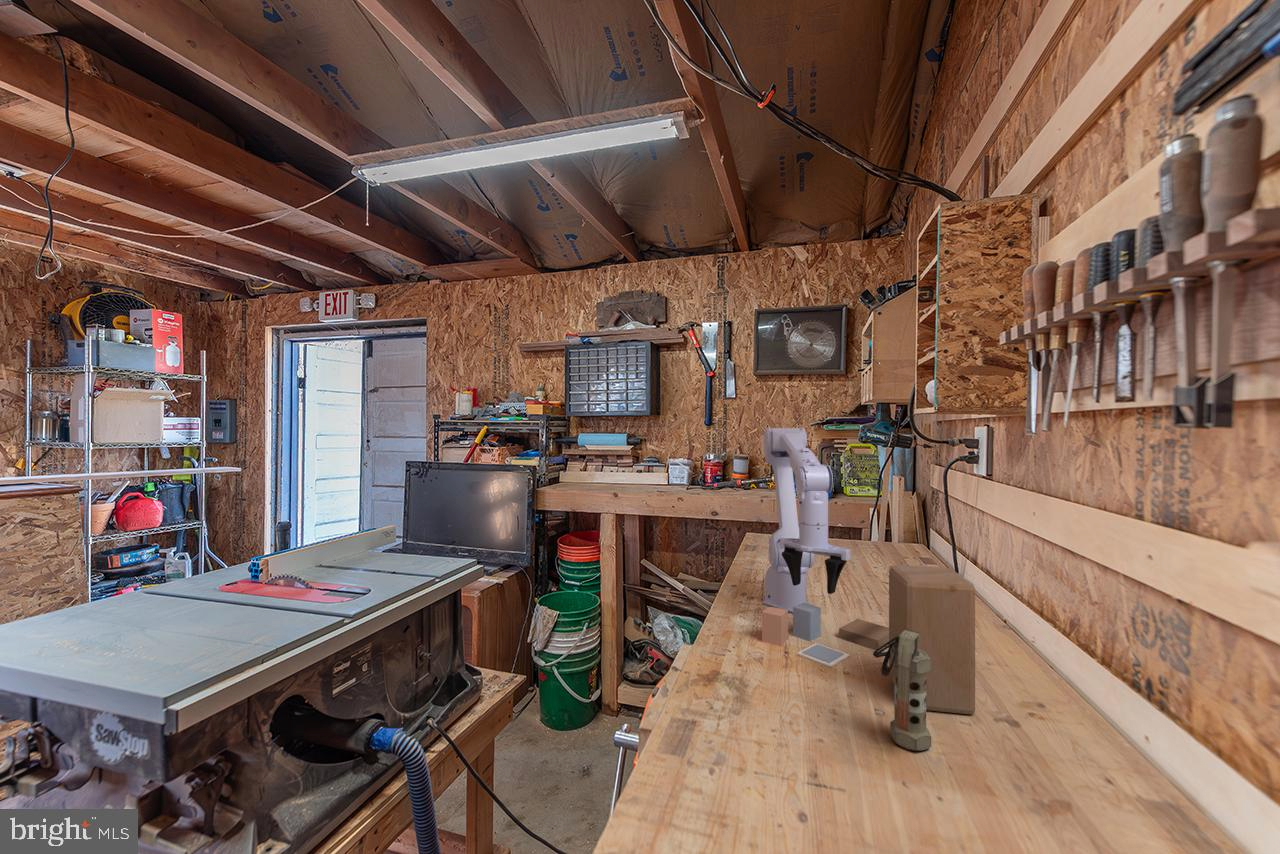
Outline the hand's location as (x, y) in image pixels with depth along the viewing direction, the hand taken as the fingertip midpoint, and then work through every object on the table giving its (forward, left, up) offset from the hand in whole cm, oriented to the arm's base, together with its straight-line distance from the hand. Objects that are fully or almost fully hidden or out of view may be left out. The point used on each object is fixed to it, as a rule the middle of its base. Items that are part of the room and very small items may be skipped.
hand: (813, 588), depth 106 cm
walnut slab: (+8, +7, -10) cm, 15 cm away
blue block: (-1, -1, -10) cm, 10 cm away
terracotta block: (-4, -8, -10) cm, 13 cm away
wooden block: (+25, -8, -10) cm, 28 cm away
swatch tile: (+6, -7, -10) cm, 13 cm away
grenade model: (+27, -24, -10) cm, 37 cm away
